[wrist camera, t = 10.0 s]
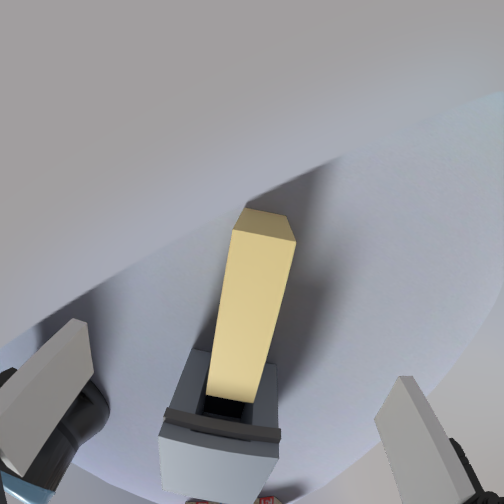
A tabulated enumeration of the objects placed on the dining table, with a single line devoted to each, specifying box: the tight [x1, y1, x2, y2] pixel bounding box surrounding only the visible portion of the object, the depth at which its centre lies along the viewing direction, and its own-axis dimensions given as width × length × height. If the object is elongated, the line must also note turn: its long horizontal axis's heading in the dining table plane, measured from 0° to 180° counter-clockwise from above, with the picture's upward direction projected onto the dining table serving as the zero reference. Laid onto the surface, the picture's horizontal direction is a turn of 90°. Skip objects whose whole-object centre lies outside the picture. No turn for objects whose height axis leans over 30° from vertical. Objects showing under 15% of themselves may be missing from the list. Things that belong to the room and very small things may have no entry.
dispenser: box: [158, 349, 281, 504], centre depth 28 cm, size 10×13×14 cm
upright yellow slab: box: [206, 208, 296, 403], centre depth 25 cm, size 4×14×10 cm, turn 169°
